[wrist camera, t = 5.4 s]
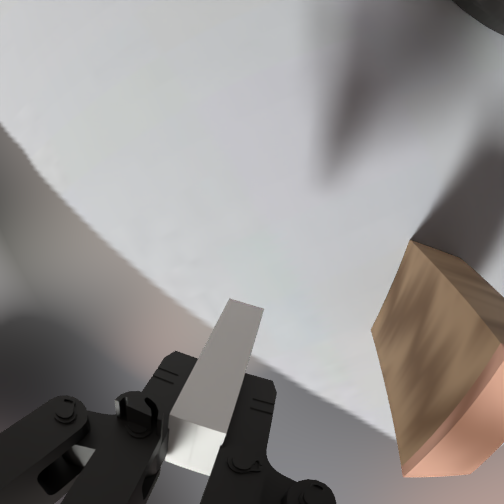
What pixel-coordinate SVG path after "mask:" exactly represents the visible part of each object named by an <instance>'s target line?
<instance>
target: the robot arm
mask: <svg viewBox="0 0 504 504" xmlns="http://www.w3.org/2000/svg"><path fill="white" fill-rule="evenodd" d="M453 1H454V2H455V3H456V4H457V5H458V6H460V7H461V8H462V9H463V10H464V11H466V12H467V13H468V14H469V15H471V16H472V17H474V18H475V19H476V20H478V21H479V22H481V23H482V24H484V25H485V26H487V27H488V28H490V29H492V30H494V31H496V32H497V33H500V34H502V35H504V0H453ZM263 311H264V309H263V308H259V307H256V306H253V305H249V304H246V303H243V302H239V301H236V300H233V299H229V300H228V302H227V304H226V306H225V308H224V310H223V312H222V314H221V316H220V318H219V320H218V322H217V324H216V326H215V327H214V329H213V331H212V333H211V335H210V337H209V339H208V341H207V343H206V345H205V347H204V349H203V351H202V353H201V355H200V357H199V358H198V359H197V358H194V357H191V356H189V355H186V354H183V353H180V352H177V351H175V352H173V353H171V354H170V355H168V356H166V357H165V358H164V359H163V361H162V362H161V364H160V365H159V367H158V369H157V370H156V371H155V373H154V374H153V377H151V379H150V380H149V382H148V383H147V385H146V387H145V388H144V389H143V391H142V392H140V391H130V392H126V393H124V394H121V395H120V396H119V397H117V398H116V399H115V406H116V415H108V414H101V413H96V412H91V411H87V410H86V407H85V406H84V405H83V403H82V402H81V401H79V400H78V399H76V398H74V397H70V396H57V397H55V398H53V399H51V400H49V401H48V402H46V403H45V404H43V405H42V406H40V407H39V408H37V409H36V410H34V411H33V412H31V413H30V414H29V415H27V416H25V417H24V418H22V419H21V420H19V421H18V422H16V423H15V424H13V425H12V426H10V427H9V428H8V429H6V430H4V431H3V432H1V433H0V504H54V503H55V502H57V501H58V500H59V499H60V498H61V497H63V495H65V494H66V493H67V492H68V493H67V494H66V496H65V497H64V499H63V501H62V502H61V504H146V503H147V500H148V498H149V496H150V494H151V492H152V490H153V488H154V486H155V483H156V481H157V479H158V477H159V475H160V468H161V465H162V463H163V461H164V459H165V456H166V459H165V461H168V462H170V463H173V464H176V465H178V466H181V467H184V468H187V469H190V470H193V471H196V472H199V473H202V474H205V475H208V476H209V479H208V482H207V485H206V488H205V491H204V494H203V496H202V499H201V502H200V504H336V500H335V497H334V494H333V493H332V490H331V489H330V488H329V487H327V485H325V484H324V483H322V482H319V481H317V480H309V479H307V480H302V481H299V482H296V481H294V480H292V479H290V478H288V477H286V476H284V475H282V474H280V473H279V472H277V471H276V470H275V469H274V468H273V467H272V466H271V465H270V463H269V461H268V459H267V455H266V449H267V443H268V438H269V432H270V427H271V422H272V415H273V410H274V404H275V399H276V393H277V392H276V389H275V386H274V384H273V381H271V380H268V379H264V378H261V377H257V376H254V375H250V374H247V373H245V372H246V369H247V365H248V362H249V359H250V355H251V352H252V349H253V345H254V342H255V338H256V335H257V332H258V328H259V325H260V321H261V318H262V314H263Z"/></svg>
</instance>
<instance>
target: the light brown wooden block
mask: <svg viewBox="0 0 504 504" xmlns="http://www.w3.org/2000/svg"><path fill="white" fill-rule="evenodd" d="M371 332H372V336H373V339H374V343H375V347H376V350H377V354H378V358H379V362H380V366H381V370H382V374H383V378H384V382H385V386H386V391H387V395H388V400H389V404H390V409H391V413H392V418H393V423H394V428H395V433H396V439H397V444H398V450H399V455H400V461H401V468H402V473H403V477H438V476H455V475H466V474H471V473H472V472H473V471H475V470H476V469H477V468H478V467H479V466H480V465H481V464H482V463H483V462H484V461H485V460H487V458H489V457H490V456H491V455H492V454H493V453H494V452H495V450H497V449H498V448H499V447H500V446H501V445H502V444H503V443H504V297H503V296H502V295H501V294H499V293H498V292H497V291H496V290H495V289H494V288H493V287H492V286H491V285H490V284H489V283H488V282H487V281H486V280H485V279H483V278H482V277H481V276H480V275H479V274H478V273H477V272H476V271H475V270H473V269H472V268H471V267H470V266H469V265H468V264H467V263H466V262H464V261H463V260H462V259H461V258H459V257H456V256H453V255H451V254H448V253H445V252H443V251H440V250H437V249H434V248H432V247H429V246H426V245H423V244H421V243H418V242H415V241H412V240H410V241H409V243H408V246H407V249H406V251H405V254H404V256H403V259H402V261H401V264H400V266H399V269H398V271H397V274H396V276H395V278H394V281H393V283H392V285H391V288H390V290H389V292H388V295H387V297H386V299H385V301H384V303H383V306H382V308H381V310H380V312H379V314H378V316H377V318H376V320H375V323H374V325H373V327H372V329H371Z"/></svg>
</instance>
